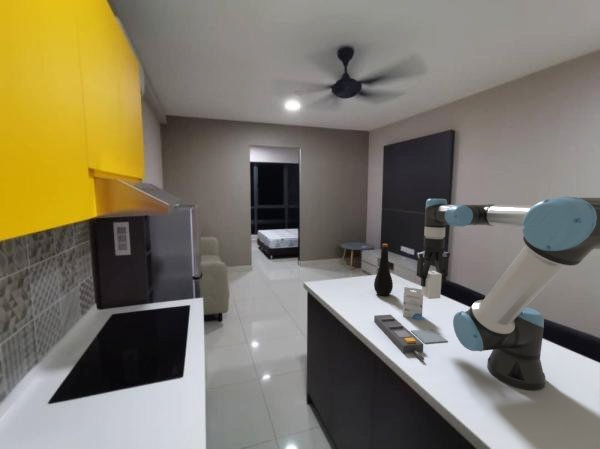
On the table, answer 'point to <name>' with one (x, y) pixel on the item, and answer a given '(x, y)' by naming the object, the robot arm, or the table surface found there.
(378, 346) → the table surface
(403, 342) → the power strip
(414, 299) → the ink box
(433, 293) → the block
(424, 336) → the mat
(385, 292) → the bottle
